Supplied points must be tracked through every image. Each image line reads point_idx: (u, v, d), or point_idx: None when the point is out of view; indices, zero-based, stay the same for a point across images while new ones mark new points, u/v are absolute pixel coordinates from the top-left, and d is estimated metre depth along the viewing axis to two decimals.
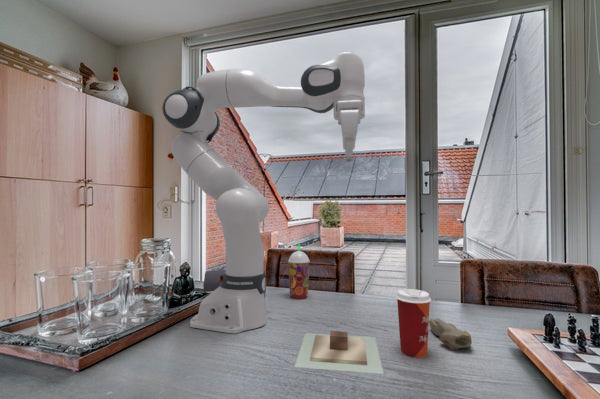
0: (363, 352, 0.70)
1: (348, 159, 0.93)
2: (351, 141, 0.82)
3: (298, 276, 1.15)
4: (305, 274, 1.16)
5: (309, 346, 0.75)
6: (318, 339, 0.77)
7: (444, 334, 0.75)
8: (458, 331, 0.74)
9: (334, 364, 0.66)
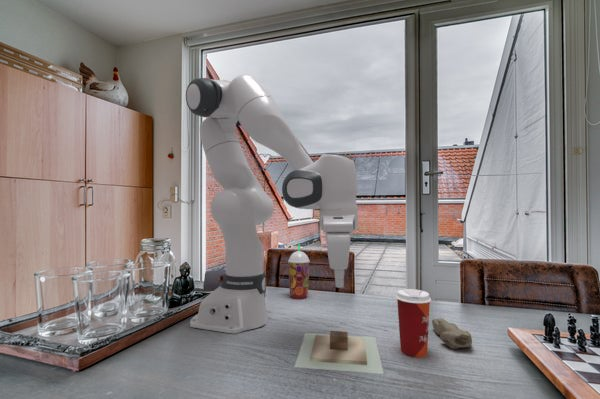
0: (363, 352, 0.70)
1: None
2: (341, 270, 0.66)
3: (298, 276, 1.15)
4: (305, 274, 1.16)
5: (309, 346, 0.75)
6: (318, 339, 0.77)
7: (444, 333, 0.75)
8: (459, 330, 0.74)
9: (334, 364, 0.66)
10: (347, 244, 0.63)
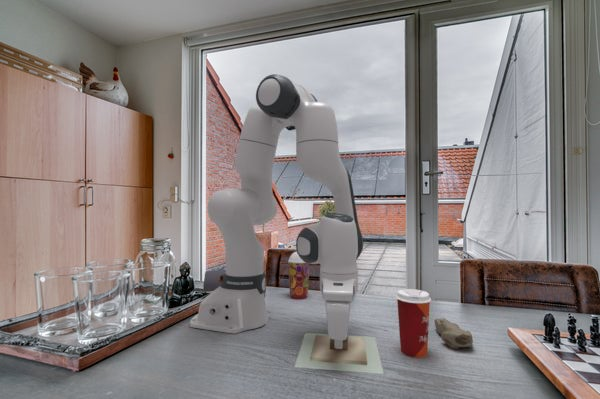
0: (363, 352, 0.70)
1: None
2: None
3: (298, 276, 1.15)
4: (305, 274, 1.16)
5: (309, 346, 0.75)
6: (318, 339, 0.77)
7: (445, 333, 0.76)
8: (459, 330, 0.74)
9: (334, 364, 0.66)
10: (347, 315, 0.63)
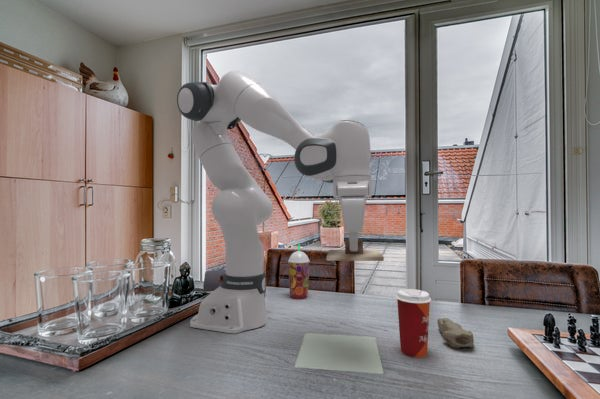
0: (379, 254, 0.70)
1: None
2: (356, 234, 0.69)
3: (298, 276, 1.15)
4: (305, 274, 1.16)
5: (309, 346, 0.75)
6: (333, 251, 0.77)
7: (445, 332, 0.76)
8: (460, 329, 0.75)
9: (334, 364, 0.66)
10: (362, 207, 0.63)
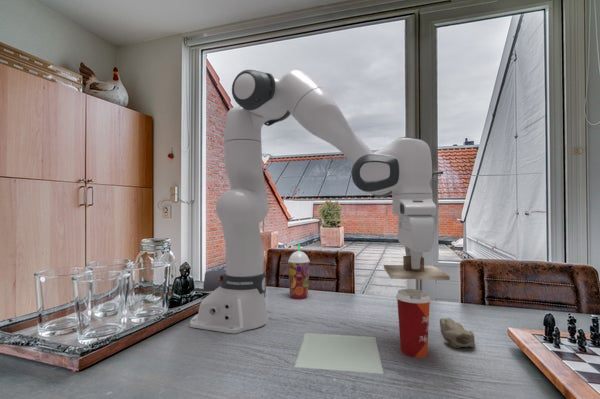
0: (441, 272, 0.70)
1: None
2: (419, 252, 0.68)
3: (298, 276, 1.15)
4: (305, 274, 1.16)
5: (309, 346, 0.75)
6: (389, 266, 0.77)
7: (446, 332, 0.76)
8: (461, 329, 0.75)
9: (334, 364, 0.66)
10: (432, 227, 0.63)
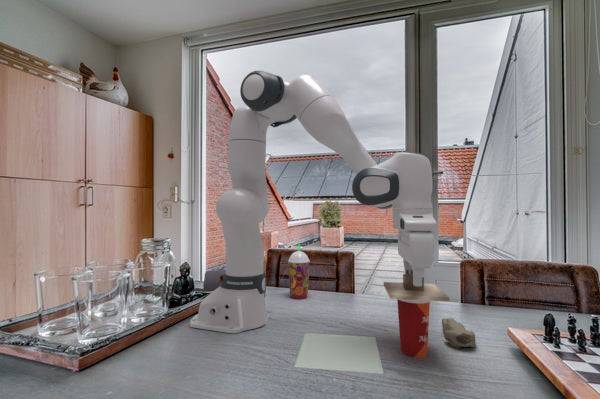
0: (440, 292, 0.69)
1: None
2: (421, 269, 0.66)
3: (298, 276, 1.15)
4: (305, 274, 1.16)
5: (309, 346, 0.75)
6: (389, 284, 0.76)
7: (447, 331, 0.76)
8: (461, 329, 0.75)
9: (334, 364, 0.66)
10: (432, 243, 0.63)
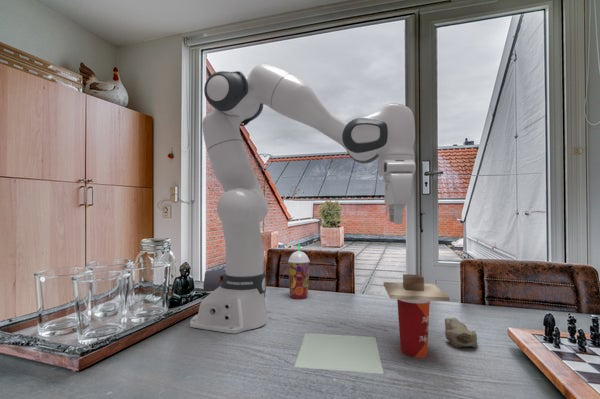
0: (440, 292, 0.69)
1: (392, 219, 0.83)
2: (401, 207, 0.73)
3: (298, 276, 1.15)
4: (305, 274, 1.16)
5: (309, 346, 0.75)
6: (389, 284, 0.76)
7: (448, 331, 0.77)
8: (462, 329, 0.75)
9: (334, 364, 0.66)
10: (410, 181, 0.70)
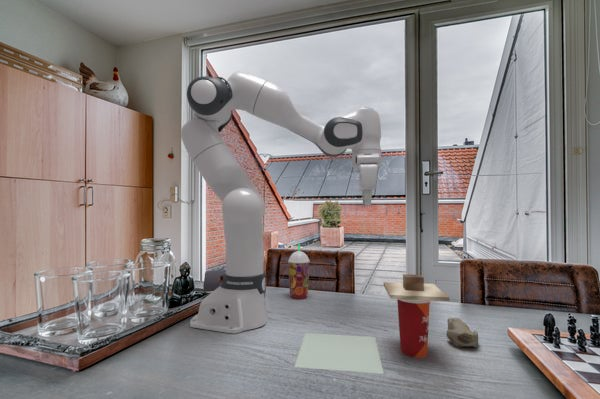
0: (440, 292, 0.69)
1: (365, 204, 1.00)
2: (370, 192, 0.89)
3: (298, 276, 1.15)
4: (305, 274, 1.16)
5: (309, 346, 0.75)
6: (389, 284, 0.76)
7: (449, 331, 0.77)
8: (463, 329, 0.75)
9: (334, 364, 0.66)
10: (375, 170, 0.86)
